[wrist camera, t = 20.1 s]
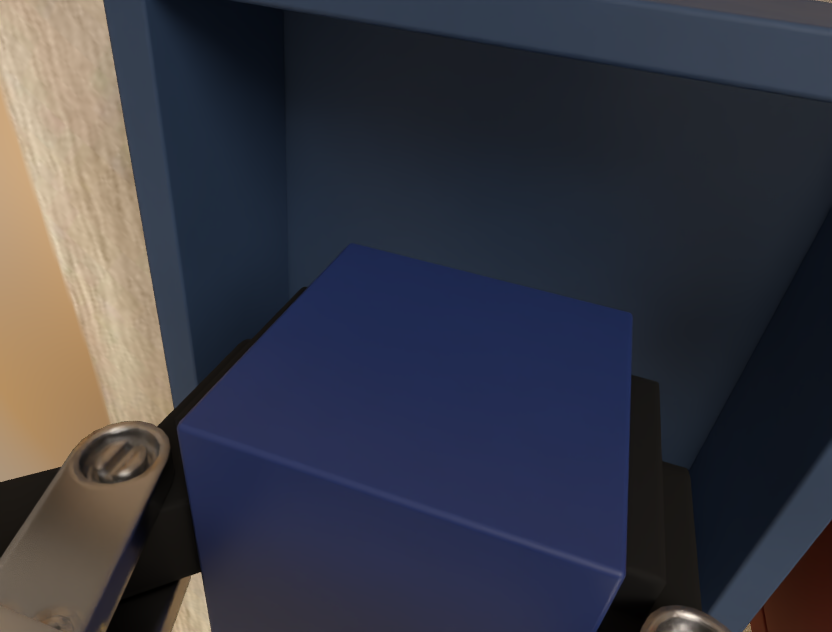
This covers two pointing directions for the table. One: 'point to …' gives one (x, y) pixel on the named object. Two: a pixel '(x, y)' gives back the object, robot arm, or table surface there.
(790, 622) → the red bin
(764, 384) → the blue bin
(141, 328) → the table surface
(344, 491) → the blue block
